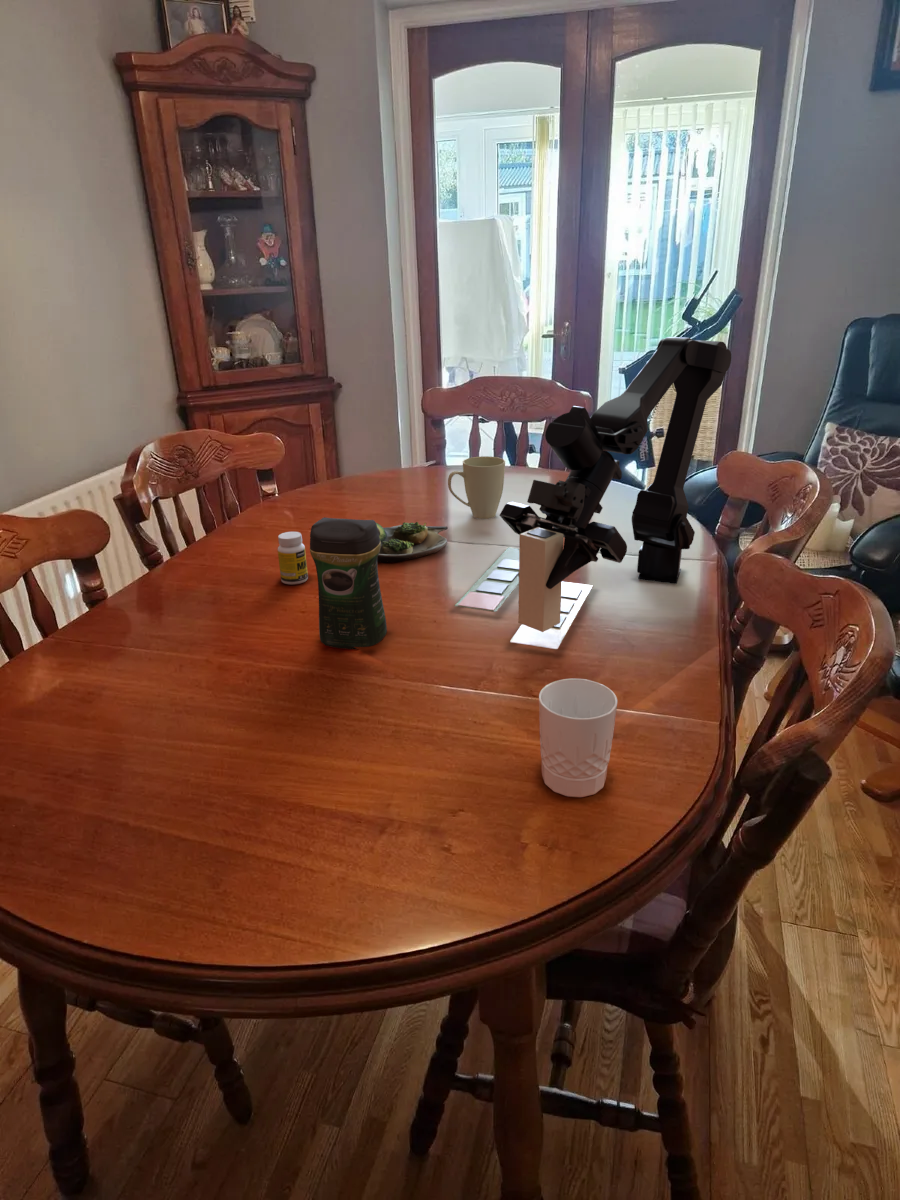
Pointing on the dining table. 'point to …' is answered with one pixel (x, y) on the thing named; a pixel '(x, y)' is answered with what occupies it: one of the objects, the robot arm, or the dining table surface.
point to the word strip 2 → (570, 607)
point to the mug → (482, 484)
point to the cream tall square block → (539, 578)
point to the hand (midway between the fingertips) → (533, 582)
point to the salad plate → (409, 541)
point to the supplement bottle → (292, 558)
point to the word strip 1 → (494, 583)
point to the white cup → (576, 735)
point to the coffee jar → (348, 582)
